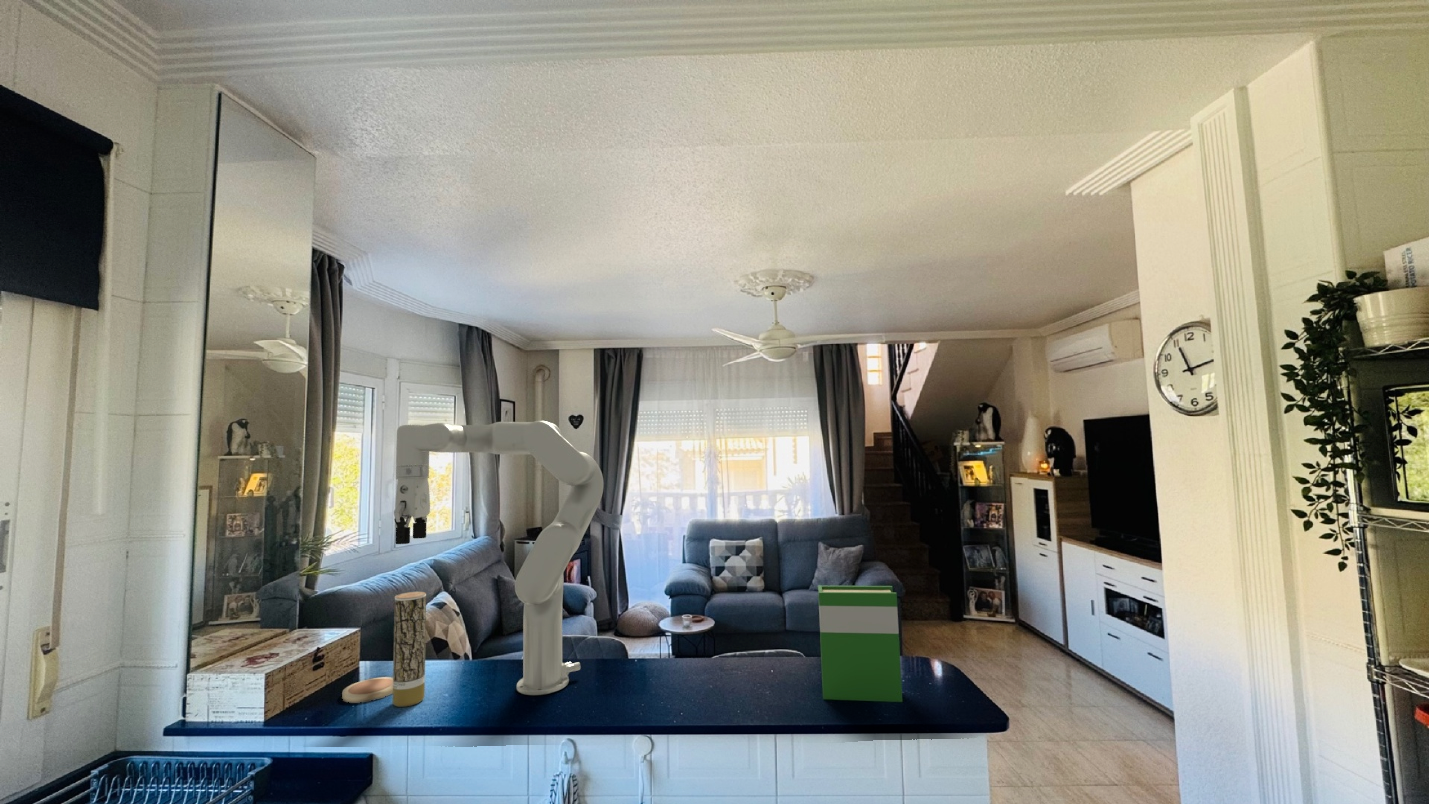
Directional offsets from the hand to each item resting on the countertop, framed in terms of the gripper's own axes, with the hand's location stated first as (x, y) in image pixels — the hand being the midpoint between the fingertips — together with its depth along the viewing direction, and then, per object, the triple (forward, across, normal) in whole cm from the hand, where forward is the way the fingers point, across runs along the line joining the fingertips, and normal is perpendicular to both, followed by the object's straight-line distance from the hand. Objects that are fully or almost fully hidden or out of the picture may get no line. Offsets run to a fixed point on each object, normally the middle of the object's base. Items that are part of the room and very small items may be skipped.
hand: (411, 540), depth 146 cm
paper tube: (+38, -5, -2) cm, 38 cm away
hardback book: (+38, -17, -109) cm, 117 cm away
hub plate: (+37, +2, +10) cm, 39 cm away
